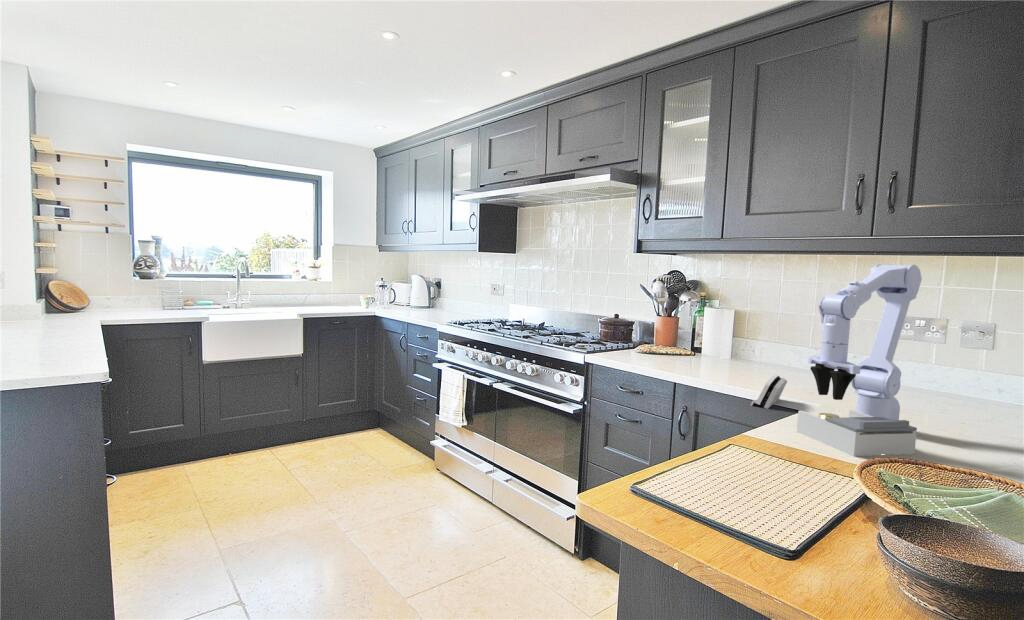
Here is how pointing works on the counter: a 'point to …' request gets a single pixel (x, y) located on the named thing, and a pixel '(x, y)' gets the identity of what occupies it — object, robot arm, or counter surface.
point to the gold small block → (828, 415)
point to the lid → (872, 424)
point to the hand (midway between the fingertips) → (830, 397)
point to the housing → (856, 437)
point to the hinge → (770, 392)
